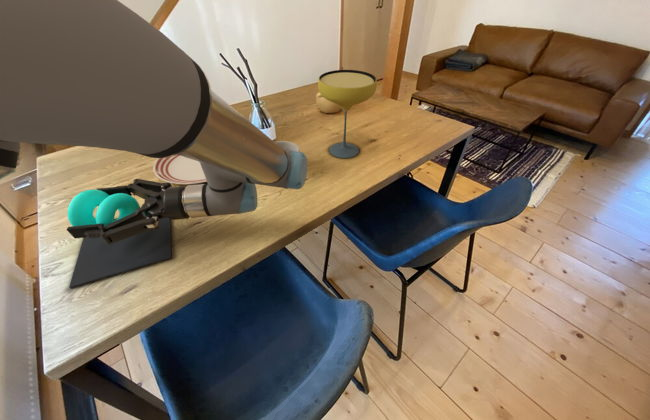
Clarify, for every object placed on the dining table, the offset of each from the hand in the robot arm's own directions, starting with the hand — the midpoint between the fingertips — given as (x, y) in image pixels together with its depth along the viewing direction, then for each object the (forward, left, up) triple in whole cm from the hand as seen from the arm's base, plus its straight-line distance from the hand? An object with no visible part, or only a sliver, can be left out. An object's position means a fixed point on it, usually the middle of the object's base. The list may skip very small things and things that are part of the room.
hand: (86, 211), depth 61 cm
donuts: (+4, -1, -6) cm, 7 cm away
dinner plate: (+24, +27, -11) cm, 37 cm away
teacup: (+48, +13, -11) cm, 50 cm away
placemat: (+4, -1, -11) cm, 11 cm away
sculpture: (+83, +52, -11) cm, 98 cm away
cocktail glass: (+73, +17, -11) cm, 75 cm away
